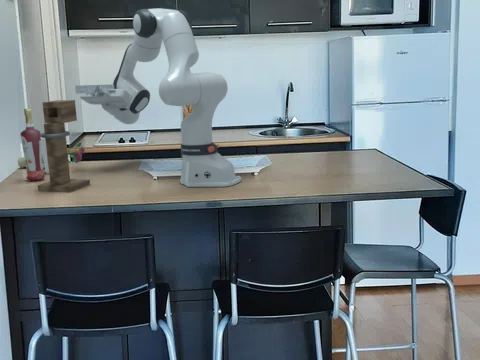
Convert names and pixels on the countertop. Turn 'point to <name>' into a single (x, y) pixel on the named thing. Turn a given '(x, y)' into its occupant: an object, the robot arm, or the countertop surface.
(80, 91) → the gray square bar
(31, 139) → the liquor
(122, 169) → the countertop surface
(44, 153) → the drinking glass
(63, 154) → the rosette stand
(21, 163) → the flower vase
